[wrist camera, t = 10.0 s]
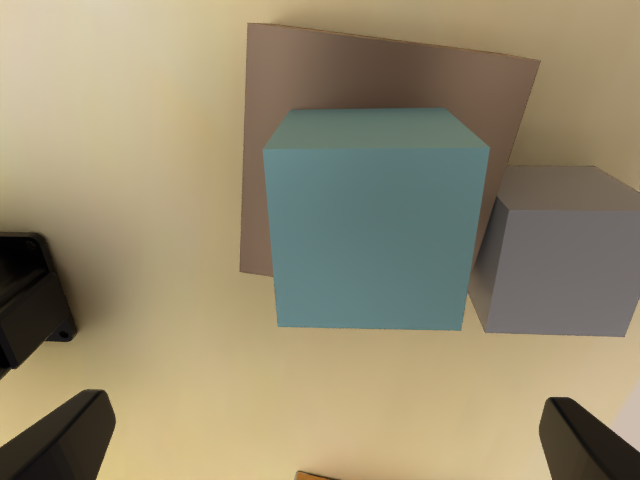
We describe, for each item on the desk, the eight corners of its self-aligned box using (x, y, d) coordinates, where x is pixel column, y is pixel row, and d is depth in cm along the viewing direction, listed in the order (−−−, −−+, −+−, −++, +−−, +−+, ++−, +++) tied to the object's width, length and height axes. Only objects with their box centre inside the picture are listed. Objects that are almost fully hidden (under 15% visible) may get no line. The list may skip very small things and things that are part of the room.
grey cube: (456, 266, 20) (484, 332, 16) (471, 165, 18) (508, 210, 14) (564, 268, 20) (624, 337, 16) (592, 165, 18) (672, 211, 13)
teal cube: (297, 244, 16) (277, 326, 12) (290, 109, 14) (262, 148, 10) (430, 245, 16) (461, 330, 11) (444, 107, 14) (490, 147, 9)
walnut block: (259, 229, 21) (239, 271, 17) (271, 23, 17) (247, 22, 13) (443, 254, 21) (461, 302, 17) (500, 53, 16) (540, 61, 13)
